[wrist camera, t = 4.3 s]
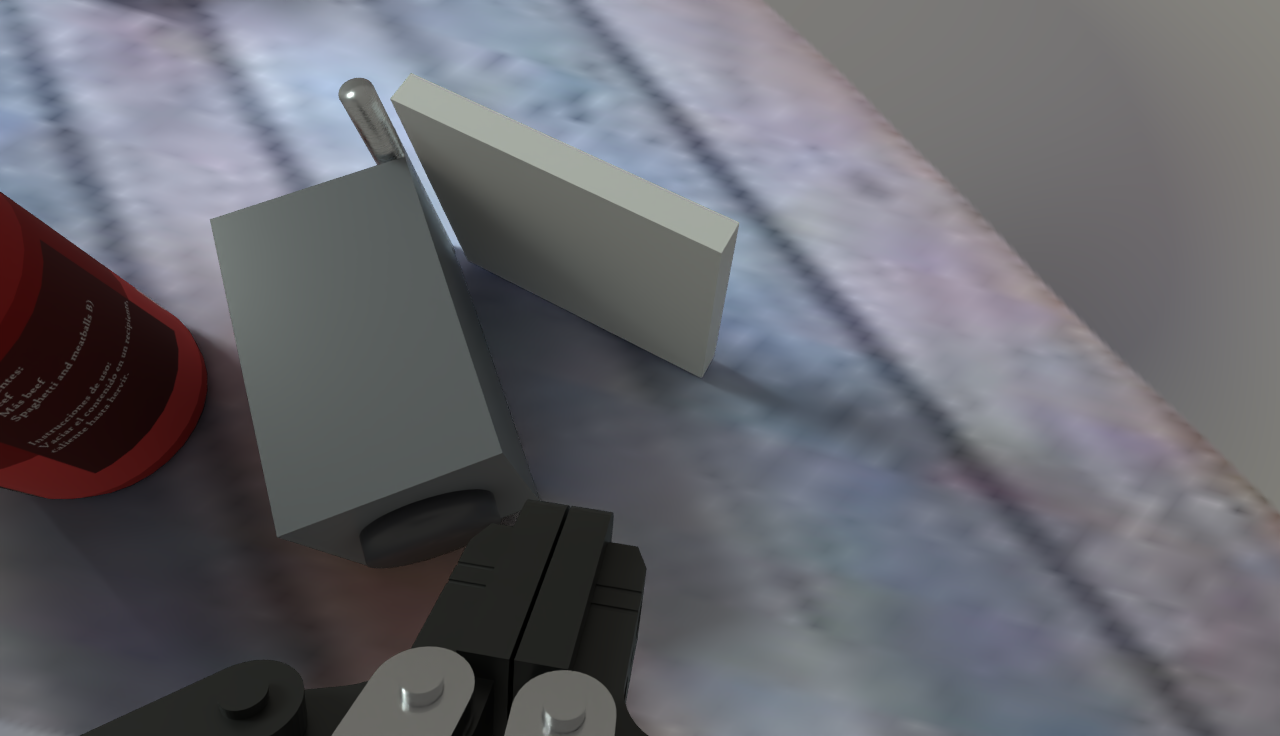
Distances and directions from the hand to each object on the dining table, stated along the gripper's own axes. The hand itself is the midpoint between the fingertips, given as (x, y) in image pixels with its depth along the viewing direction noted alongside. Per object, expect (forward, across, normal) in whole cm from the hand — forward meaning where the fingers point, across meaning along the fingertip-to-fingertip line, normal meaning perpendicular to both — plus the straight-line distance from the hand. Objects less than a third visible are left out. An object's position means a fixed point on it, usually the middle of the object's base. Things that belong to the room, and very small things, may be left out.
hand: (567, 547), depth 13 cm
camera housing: (+13, +8, +5) cm, 16 cm away
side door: (+17, +2, +1) cm, 17 cm away
